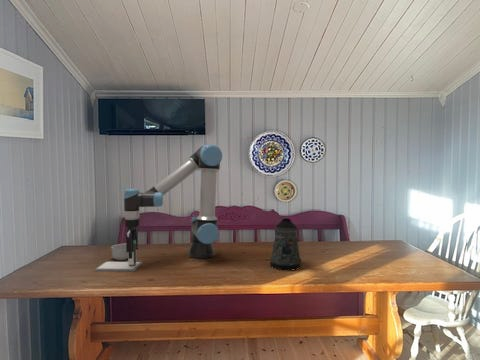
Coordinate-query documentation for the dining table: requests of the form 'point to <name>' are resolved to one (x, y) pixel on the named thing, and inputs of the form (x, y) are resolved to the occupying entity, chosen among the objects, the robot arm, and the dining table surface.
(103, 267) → the small whiteboard
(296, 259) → the beer stein
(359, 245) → the dining table surface
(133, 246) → the marker
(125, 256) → the teacup
